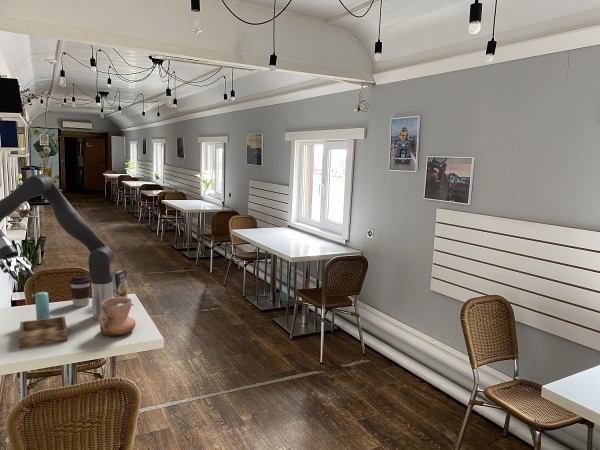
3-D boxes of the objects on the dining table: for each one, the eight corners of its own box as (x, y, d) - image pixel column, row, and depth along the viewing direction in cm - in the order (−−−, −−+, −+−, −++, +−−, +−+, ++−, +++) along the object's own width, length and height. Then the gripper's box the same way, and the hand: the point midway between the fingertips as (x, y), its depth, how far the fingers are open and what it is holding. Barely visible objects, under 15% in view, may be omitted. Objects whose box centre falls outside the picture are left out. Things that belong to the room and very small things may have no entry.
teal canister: (49, 320, 215) (48, 291, 212) (50, 324, 210) (48, 294, 208) (36, 322, 212) (34, 292, 210) (36, 326, 208) (34, 296, 205)
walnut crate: (65, 325, 209) (64, 316, 208) (67, 340, 194) (66, 330, 193) (21, 331, 201) (20, 321, 200) (19, 348, 186) (18, 337, 185)
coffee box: (117, 304, 238) (116, 274, 235) (106, 303, 239) (105, 273, 237) (127, 299, 247) (127, 269, 244) (116, 298, 248) (115, 268, 245)
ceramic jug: (123, 322, 215) (121, 292, 213) (145, 329, 208) (143, 298, 206) (88, 335, 200) (86, 304, 198) (110, 343, 193) (108, 311, 190)
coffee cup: (78, 300, 242) (76, 272, 240) (95, 302, 241) (94, 274, 238) (66, 307, 232) (64, 277, 230) (84, 308, 231) (83, 279, 229)
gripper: (-4, 245, 203) (17, 274, 201) (22, 243, 217) (42, 270, 215) (-15, 255, 204) (6, 284, 202) (11, 253, 218) (31, 280, 216)
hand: (24, 277), depth 209 cm, fingers open, 8 cm apart
